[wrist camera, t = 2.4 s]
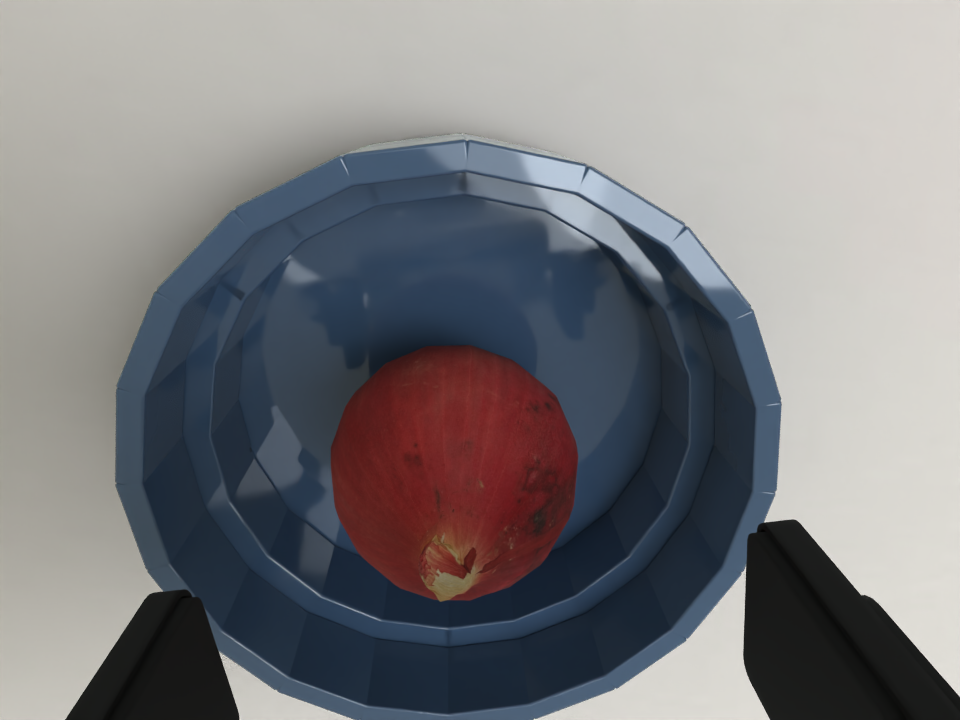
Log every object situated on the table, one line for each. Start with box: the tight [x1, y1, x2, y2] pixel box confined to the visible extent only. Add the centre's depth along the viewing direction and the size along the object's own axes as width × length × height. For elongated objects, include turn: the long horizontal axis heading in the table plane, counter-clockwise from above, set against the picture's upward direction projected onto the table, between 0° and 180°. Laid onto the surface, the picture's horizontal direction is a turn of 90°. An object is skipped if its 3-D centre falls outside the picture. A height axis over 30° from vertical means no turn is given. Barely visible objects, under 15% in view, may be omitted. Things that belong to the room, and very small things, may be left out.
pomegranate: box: [331, 345, 578, 602], centre depth 15 cm, size 6×6×8 cm
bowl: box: [115, 133, 782, 720], centre depth 17 cm, size 15×15×5 cm
